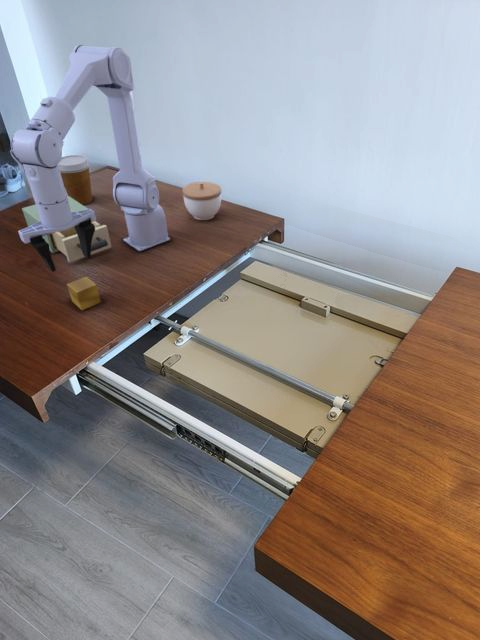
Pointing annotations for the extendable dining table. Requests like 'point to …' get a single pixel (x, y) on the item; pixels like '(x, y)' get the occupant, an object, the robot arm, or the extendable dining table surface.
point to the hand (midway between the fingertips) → (70, 262)
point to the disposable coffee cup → (76, 177)
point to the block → (84, 293)
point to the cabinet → (33, 217)
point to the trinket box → (202, 199)
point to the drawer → (71, 244)
